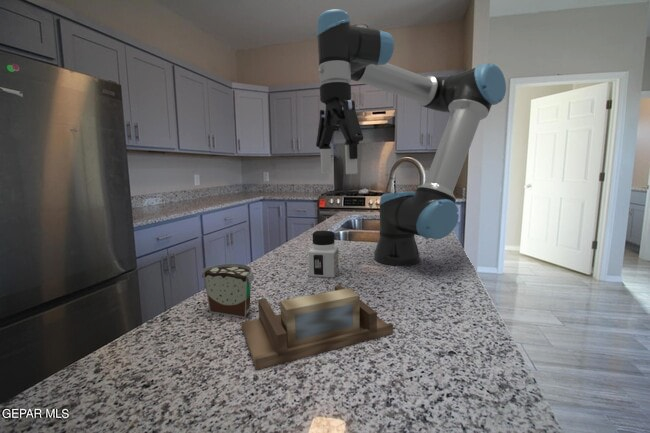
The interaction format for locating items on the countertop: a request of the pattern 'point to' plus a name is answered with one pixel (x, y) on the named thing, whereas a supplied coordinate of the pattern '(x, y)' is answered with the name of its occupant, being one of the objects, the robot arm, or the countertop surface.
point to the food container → (228, 289)
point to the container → (323, 255)
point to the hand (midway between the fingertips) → (338, 173)
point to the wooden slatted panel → (272, 344)
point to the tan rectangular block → (320, 316)
